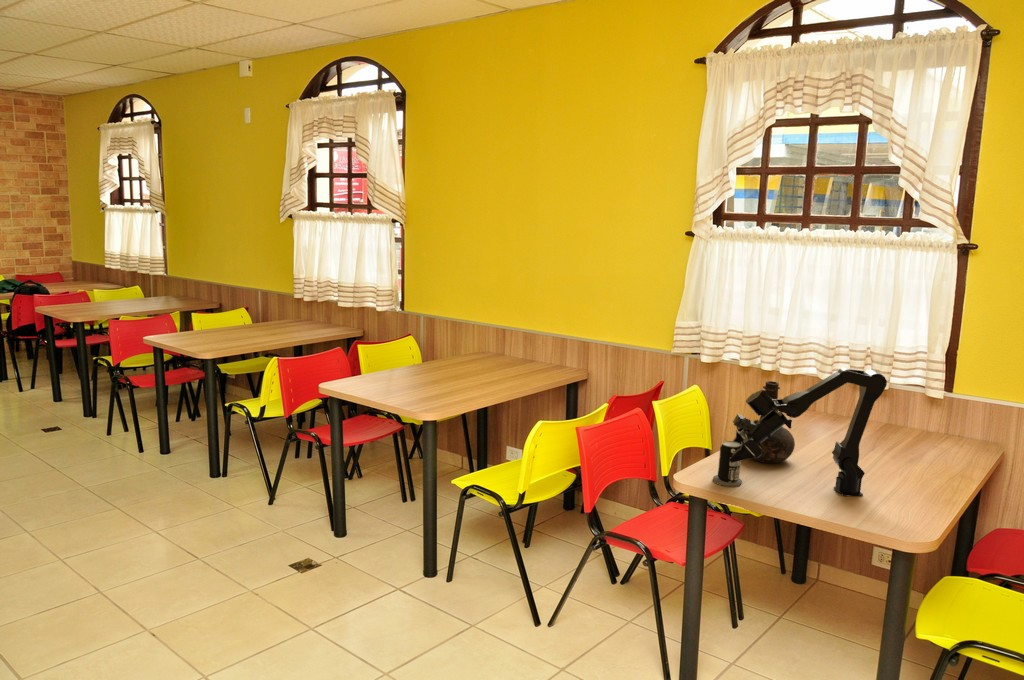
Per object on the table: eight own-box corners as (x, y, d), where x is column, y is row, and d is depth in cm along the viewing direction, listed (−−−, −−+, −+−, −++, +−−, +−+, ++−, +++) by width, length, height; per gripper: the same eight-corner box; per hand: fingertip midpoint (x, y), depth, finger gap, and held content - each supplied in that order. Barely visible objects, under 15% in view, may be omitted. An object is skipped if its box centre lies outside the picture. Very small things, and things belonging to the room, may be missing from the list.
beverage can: (719, 474, 252) (722, 439, 249) (740, 478, 249) (743, 442, 247) (715, 480, 246) (719, 444, 244) (737, 484, 243) (740, 448, 241)
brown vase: (801, 460, 272) (809, 383, 267) (777, 471, 260) (786, 390, 255) (754, 448, 284) (762, 374, 280) (730, 457, 272) (737, 380, 267)
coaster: (735, 477, 252) (735, 474, 252) (746, 487, 244) (746, 484, 243) (708, 476, 251) (708, 474, 251) (718, 486, 243) (719, 484, 242)
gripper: (745, 400, 252) (708, 430, 255) (755, 415, 233) (714, 447, 237) (768, 425, 252) (730, 454, 255) (779, 442, 234) (738, 473, 237)
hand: (728, 456), depth 246 cm, fingers open, 9 cm apart
